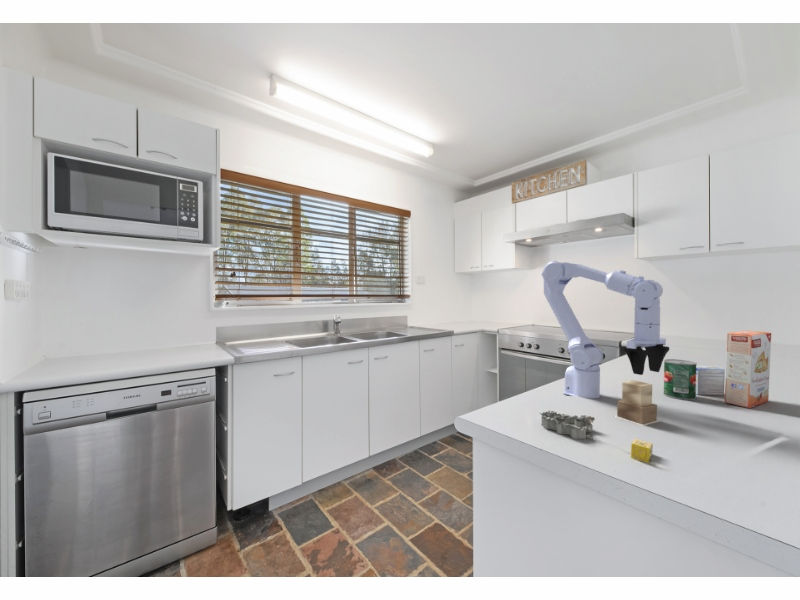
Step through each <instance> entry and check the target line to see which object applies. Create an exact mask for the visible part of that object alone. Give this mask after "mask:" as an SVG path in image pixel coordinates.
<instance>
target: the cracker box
mask: <svg viewBox="0 0 800 600" xmlns="http://www.w3.org/2000/svg"><path fill="white" fill-rule="evenodd" d="M771 345H772V332H766V331H755V330H743V331H742V330H741V331H734V332H727V334H726V351H725V353H726V354H725V381H724V403H726V404H729V405H734V406H738V407H742V408H746V409H751V408H754V407H756V406H759V405H762V404H765V403H767V402H769V396H770V395H769V393H770V392H769V391H770V374H771V373H770V370H771V350H772V349H771V348H772V347H771Z"/></svg>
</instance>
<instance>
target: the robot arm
mask: <svg viewBox="0 0 800 600" xmlns="http://www.w3.org/2000/svg"><path fill="white" fill-rule="evenodd" d="M541 277H542V278H543V294H544V296H545V299H546V301H547V303H548V304H549V306H550V308H551V310H552V313H553V314H554V316H555V317H556V320H557V322H558V324H559V325H560V328H561V329H562V332H563V333H564V335H565V337H566V339H567V341H568V346H567V349H568V352H569V354H570V355H569V356H570V357H569V359H570V362H571V363H572V365H570V366H568V367H567V368H566V370H565V372H564V391H563V392H562V394H565V395H567V396H570V397H574V396H577V397H578V398H579V397H580V398H583V399H584V398H585V399H599V398H600V397H601V396H600V395H601V389H600V388H601V367H600V364H601V363H602V362H603V360H604V354H603V351H602V350H601V349H600V348H599V347H598V346H596V345H595V343H594V341H593V340H592V339H591V338H589V337H588V336H587V335H586V333H585V331H584V330H583V328H582V326H581V324H580V322H579V320H578V318H577V316H576V315H575V313H574V311H573V309H572V307H571V304H570V303H569V302H568V299H567V298H566V296H565V295H564V290H565V288H566V286H567V285H568V284H569V283H570V281H572V279H573V278H575V279H576V278H580V277H581V278H584V279H587V280H591V281H594V282H598V283H602V284H604V285H605V287H606V289H607V290H610V291H612V292H616V293H617V294H622V295H625V296H628V297H632V298H634V327H633V329H634V332H633V333H634V334H633V336H634V338H632V339H629V340H627V341H626V346H624V347H623V351H624V352H625V354H626V356H627V358H628V360H629V363H630V366H631V370H632V373H633V374H634V375H638V376H643V375H644V372H645V365H646V364H645V363H646V359H647V360H648V369H649V371H650V372H655V373H659V372H660V370H661V369H662V368H661V367H662V364H663V361H664V360H665V357H666V355H667V354H668V352H669V351H670V347H669V346H667V344H666V343H667V342H666V341H667V338H664V337H663V338H662V337H661V307H660V306H661V301H660V300H661V299H660V298H661V296H663V292H664V291H663V290H664V289H663V287H662V285H661V284H660V283H659V282H657V281H655V280H654V279H647V280H646V279H645V276H643V275H642V276H641V275H639V276H636V275H632V274H628V273H627V271H625V270H622V269H621V270H619V271H618V270H614V271H611V272H606V271H603V270H598V269H595V268H593V267H590V266H587V265H583V264H579V263H572V262H571V263H570V262H562V261H557V260H551V261H549V262H548V263H546V264H545V266H544V268H543V269H542V273H541Z"/></svg>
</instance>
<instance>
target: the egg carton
mask: <svg viewBox="0 0 800 600" xmlns="http://www.w3.org/2000/svg"><path fill="white" fill-rule="evenodd" d="M539 414H540V415H541V427H543V429H545V430H554V431H556V433H557V434H559V435H562V434H565V435H569V436H571V439H574V440H578V439H579V440H580V439H581V440H586V438H587V436H589V434H587V433H592V432H593V424H592V423H594V421H595V417H593V416H591V415H580V416H579V415H570V414H567V413H558V412H557V411H554V410H548V411H545V412H544V411H543V412H539ZM572 424H573V425H572Z"/></svg>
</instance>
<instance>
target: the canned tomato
mask: <svg viewBox="0 0 800 600" xmlns="http://www.w3.org/2000/svg"><path fill="white" fill-rule="evenodd" d="M663 361H664V363H663V364H664V365H663V367H664V368H663V392H662V393H663V395H664V396H665V395H666V396H665V397H668V398H671V397H672V398H671V399H675V398H677V400H682V399H684V400H683V401H695V400H696V399H697V397H696V366H697V362H695V361H691V360H685V359H674V358H673V359H672V358H671V359H669V358H668V359H663ZM694 399H695V400H694Z"/></svg>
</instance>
